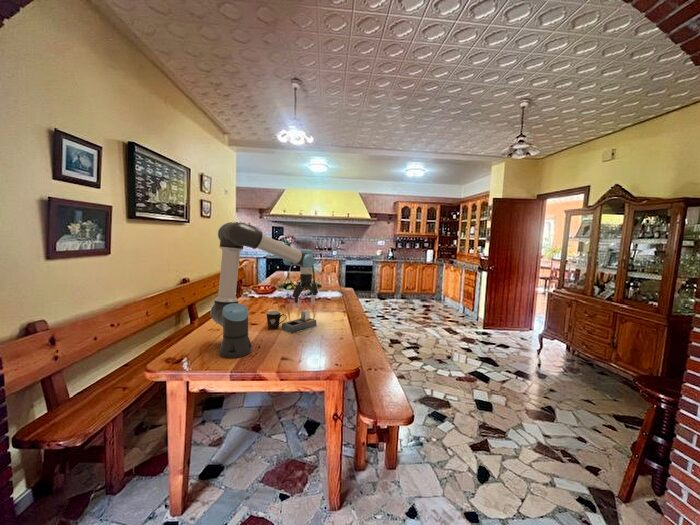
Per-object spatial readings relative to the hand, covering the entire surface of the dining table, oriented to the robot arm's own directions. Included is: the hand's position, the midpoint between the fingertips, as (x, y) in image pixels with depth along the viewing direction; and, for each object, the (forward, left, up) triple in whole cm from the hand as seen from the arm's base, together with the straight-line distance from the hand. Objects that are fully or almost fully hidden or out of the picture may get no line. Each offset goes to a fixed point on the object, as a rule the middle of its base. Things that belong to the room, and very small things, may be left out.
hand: (305, 306), depth 188 cm
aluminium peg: (0, 0, -13) cm, 13 cm away
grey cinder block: (-5, 0, -13) cm, 14 cm away
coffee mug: (-16, +10, -14) cm, 23 cm away
